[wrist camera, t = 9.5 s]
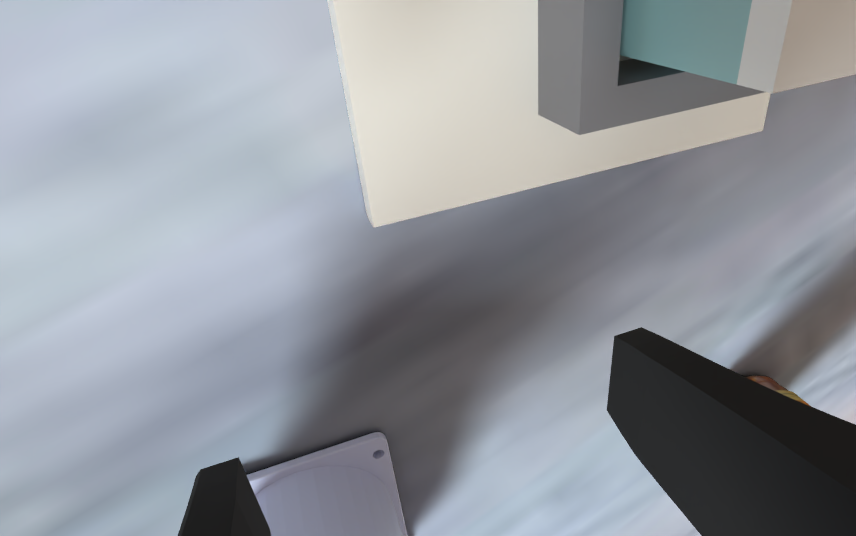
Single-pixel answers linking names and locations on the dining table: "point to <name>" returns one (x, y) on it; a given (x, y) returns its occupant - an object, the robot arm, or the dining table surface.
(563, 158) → the outlet plate
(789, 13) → the block
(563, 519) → the dining table surface
